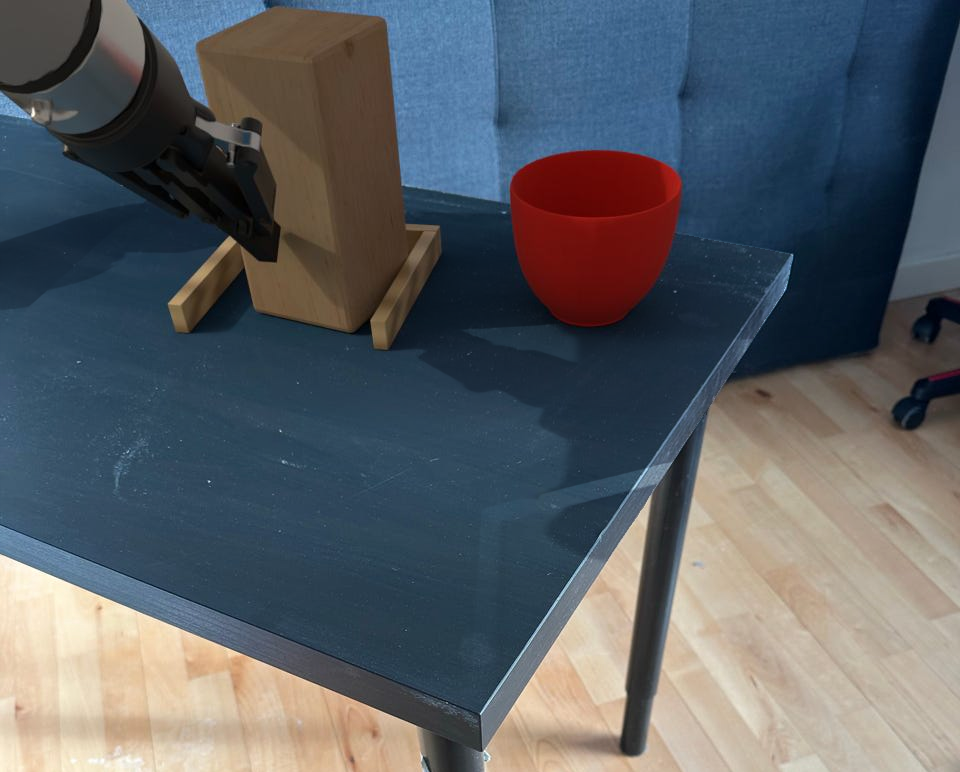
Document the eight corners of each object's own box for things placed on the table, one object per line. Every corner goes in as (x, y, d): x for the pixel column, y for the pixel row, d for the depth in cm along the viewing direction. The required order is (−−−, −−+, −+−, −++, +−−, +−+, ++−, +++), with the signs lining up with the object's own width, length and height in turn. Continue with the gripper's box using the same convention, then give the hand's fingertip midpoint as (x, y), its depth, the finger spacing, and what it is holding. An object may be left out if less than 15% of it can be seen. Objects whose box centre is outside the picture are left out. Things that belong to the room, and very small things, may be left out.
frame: (388, 350, 74) (384, 321, 72) (175, 332, 77) (167, 303, 75) (441, 252, 85) (440, 225, 84) (254, 240, 89) (248, 213, 87)
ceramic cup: (609, 241, 86) (617, 123, 78) (696, 328, 75) (714, 200, 67) (475, 267, 83) (470, 148, 76) (544, 361, 72) (546, 231, 65)
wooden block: (413, 282, 82) (388, 15, 67) (353, 336, 76) (312, 55, 61) (317, 262, 85) (273, 3, 70) (252, 313, 79) (190, 41, 64)
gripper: (-33, 136, 50) (186, 287, 73) (192, 146, 47) (344, 299, 70) (-19, -9, 49) (197, 190, 72) (209, -6, 47) (356, 199, 70)
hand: (269, 244), depth 71 cm, fingers closed
